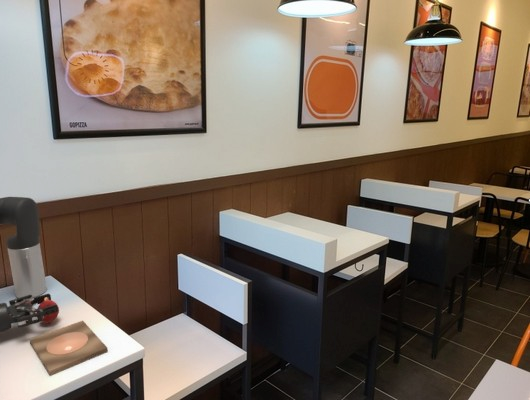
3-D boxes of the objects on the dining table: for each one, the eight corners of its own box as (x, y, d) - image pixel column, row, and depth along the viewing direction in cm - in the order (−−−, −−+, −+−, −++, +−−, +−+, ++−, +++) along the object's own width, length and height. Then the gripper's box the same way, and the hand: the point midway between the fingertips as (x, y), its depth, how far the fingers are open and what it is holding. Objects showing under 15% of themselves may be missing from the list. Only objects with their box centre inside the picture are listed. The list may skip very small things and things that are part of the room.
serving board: (30, 343, 112) (29, 338, 111) (83, 324, 121) (82, 319, 120) (50, 375, 99) (49, 370, 98) (107, 351, 108) (107, 346, 108)
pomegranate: (61, 324, 121) (58, 299, 119) (39, 330, 118) (35, 305, 116) (59, 315, 126) (55, 291, 124) (37, 321, 123) (33, 296, 121)
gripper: (-11, 319, 105) (58, 299, 115) (-17, 298, 116) (46, 282, 126) (-6, 345, 107) (62, 323, 117) (-13, 322, 118) (49, 304, 128)
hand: (53, 302), depth 121 cm, fingers open, 8 cm apart
